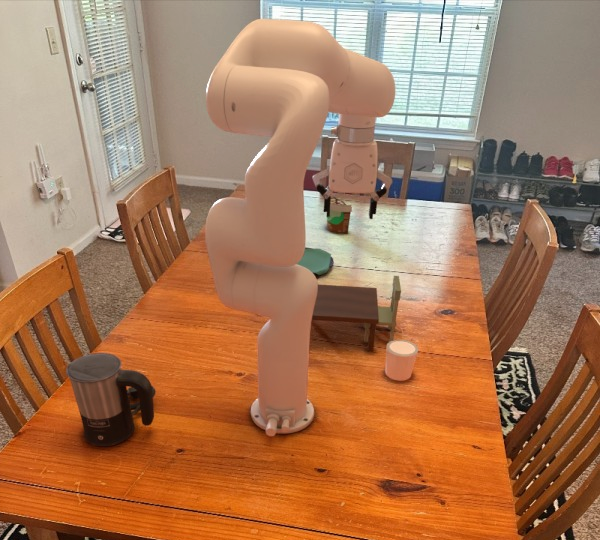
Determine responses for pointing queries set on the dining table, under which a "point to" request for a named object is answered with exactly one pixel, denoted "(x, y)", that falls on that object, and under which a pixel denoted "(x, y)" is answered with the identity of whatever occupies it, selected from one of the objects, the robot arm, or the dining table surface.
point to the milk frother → (109, 397)
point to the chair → (388, 311)
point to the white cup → (400, 359)
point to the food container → (338, 216)
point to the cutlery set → (316, 260)
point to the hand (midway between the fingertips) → (349, 216)
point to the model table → (348, 306)
